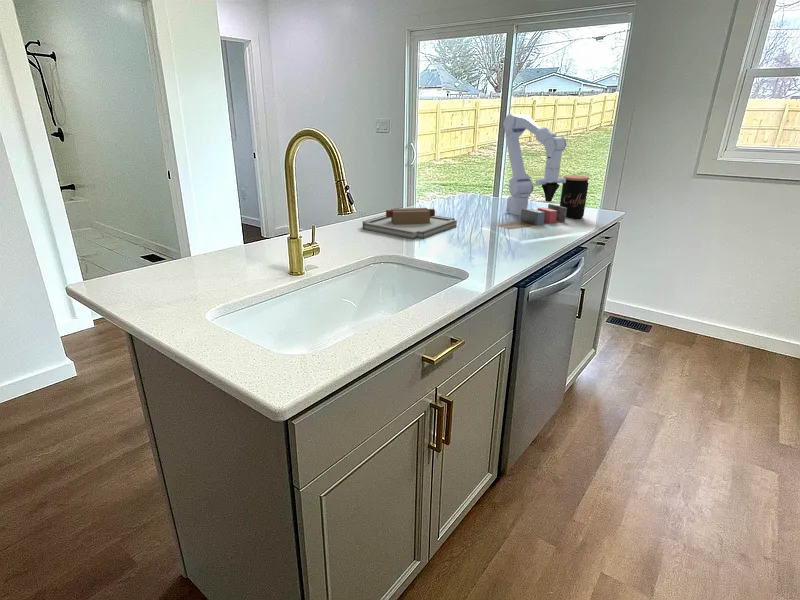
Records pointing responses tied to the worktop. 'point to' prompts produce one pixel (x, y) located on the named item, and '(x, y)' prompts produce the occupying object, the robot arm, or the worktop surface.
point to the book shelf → (559, 219)
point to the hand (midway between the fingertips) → (548, 201)
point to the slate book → (539, 216)
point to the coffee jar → (574, 195)
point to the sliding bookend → (529, 216)
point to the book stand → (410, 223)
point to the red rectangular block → (549, 215)
